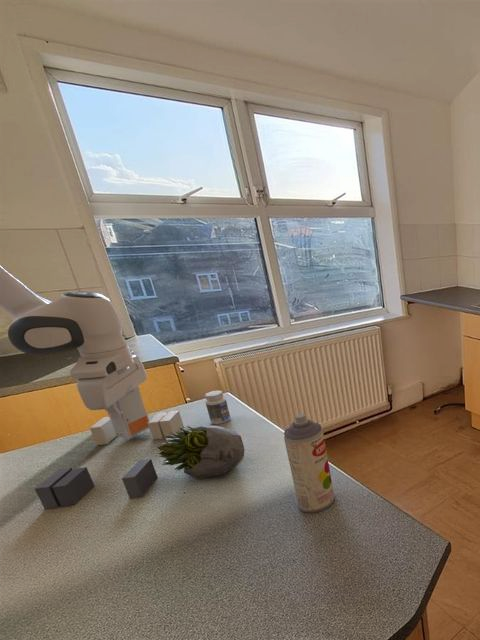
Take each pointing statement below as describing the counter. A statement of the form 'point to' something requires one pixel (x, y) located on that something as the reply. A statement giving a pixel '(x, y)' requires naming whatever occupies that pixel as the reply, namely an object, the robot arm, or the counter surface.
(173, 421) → the white blocks
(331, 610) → the counter surface
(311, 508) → the aerosol can
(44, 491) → the dark grey blocks
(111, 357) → the robot arm
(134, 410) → the cosmetic box
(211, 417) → the pill bottle
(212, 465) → the potted plant
